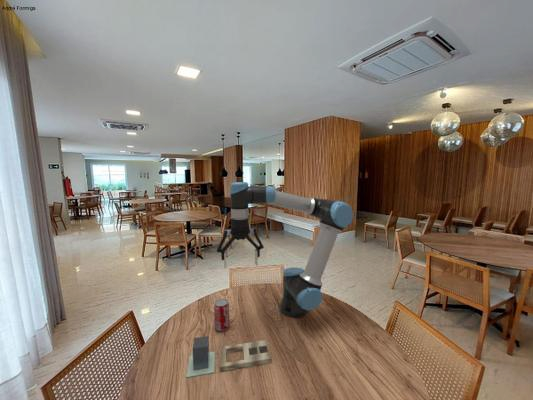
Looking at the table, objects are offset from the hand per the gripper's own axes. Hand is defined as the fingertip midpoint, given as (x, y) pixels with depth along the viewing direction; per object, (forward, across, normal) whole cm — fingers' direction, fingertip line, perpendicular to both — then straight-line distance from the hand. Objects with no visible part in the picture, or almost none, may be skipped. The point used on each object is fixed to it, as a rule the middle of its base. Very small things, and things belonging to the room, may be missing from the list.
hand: (241, 265), depth 96 cm
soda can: (+34, +9, -9) cm, 37 cm away
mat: (+34, +17, +11) cm, 40 cm away
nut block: (+34, +17, +11) cm, 39 cm away
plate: (+34, 0, +11) cm, 36 cm away
